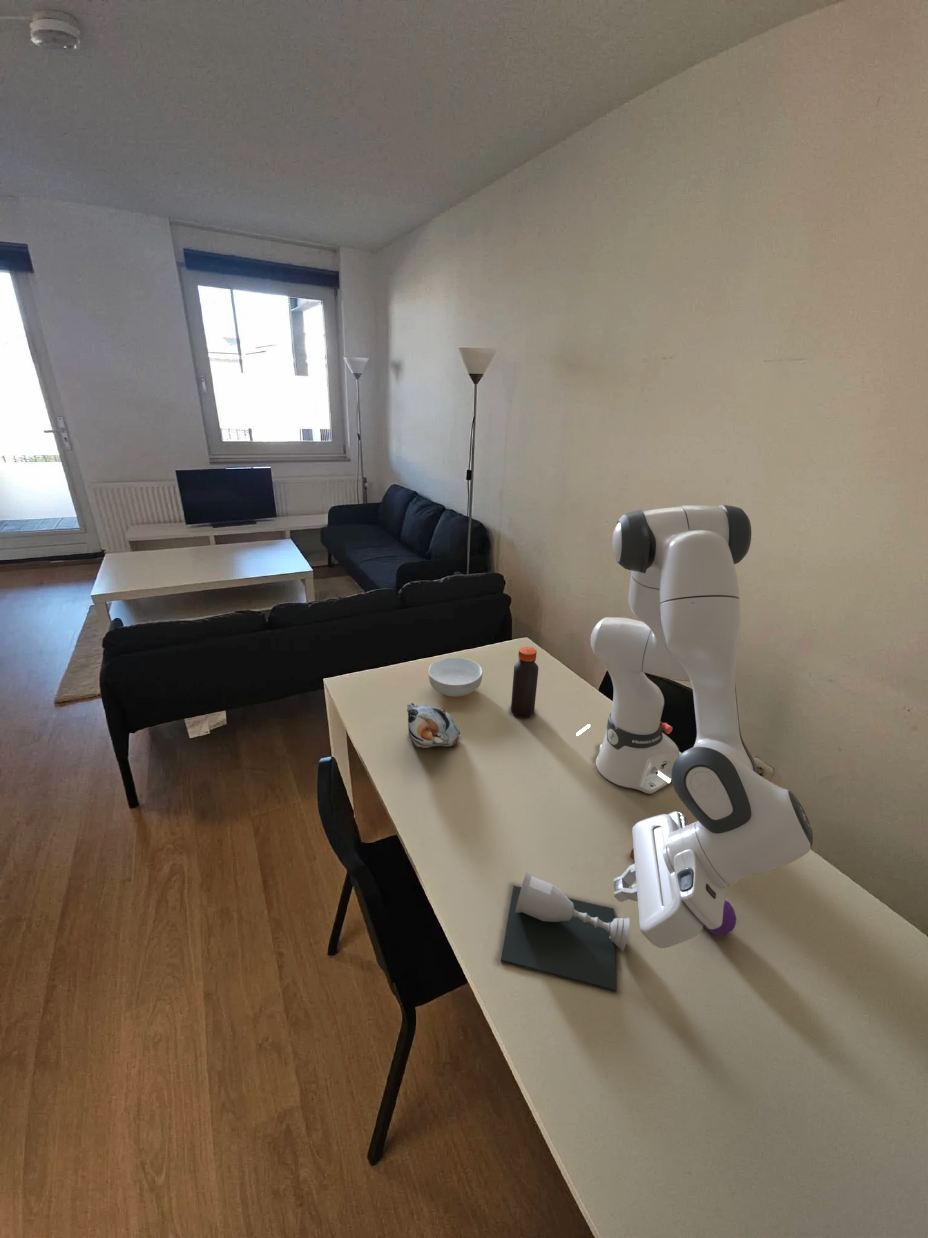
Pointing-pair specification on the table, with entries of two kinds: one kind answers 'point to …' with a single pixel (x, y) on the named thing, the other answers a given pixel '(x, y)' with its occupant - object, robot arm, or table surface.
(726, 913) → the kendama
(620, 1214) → the table surface
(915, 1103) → the table surface
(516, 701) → the bottle
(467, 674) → the cereal bowl
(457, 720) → the table surface
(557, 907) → the chalice
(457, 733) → the lucky cat figurine
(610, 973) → the mat
